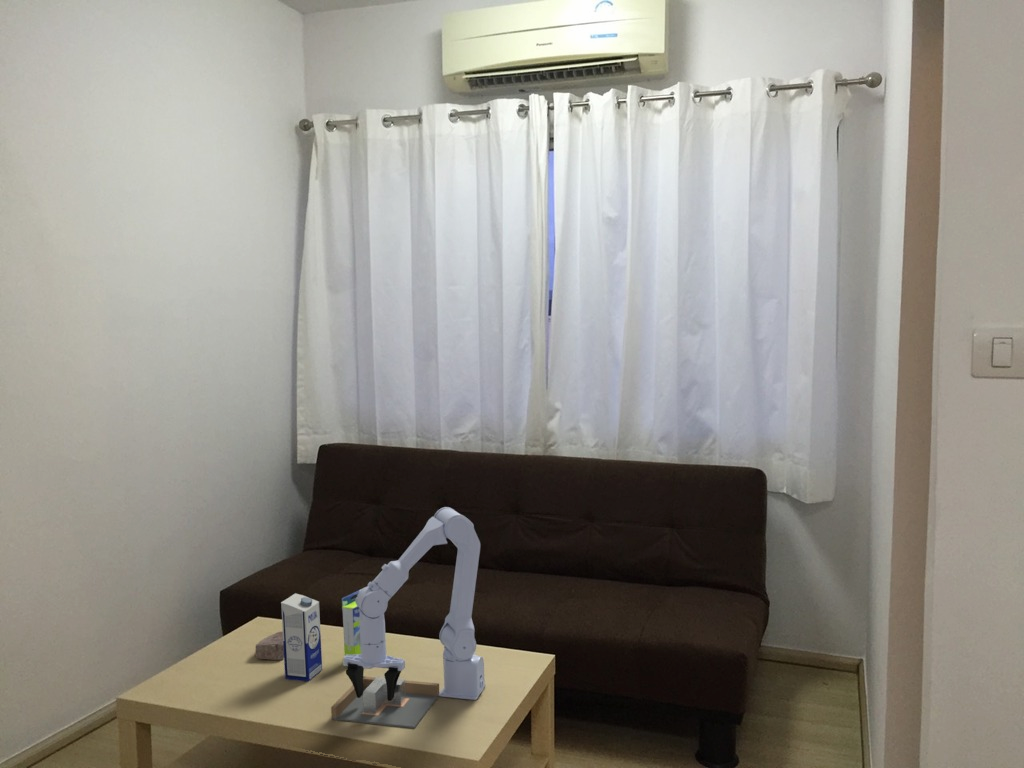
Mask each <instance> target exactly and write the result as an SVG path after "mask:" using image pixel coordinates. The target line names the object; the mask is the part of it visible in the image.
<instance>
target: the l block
mask: <svg viewBox="0 0 1024 768" xmlns="http://www.w3.org/2000/svg"><path fill="white" fill-rule="evenodd" d="M375 678H376V679H375V680H374V681H373V682H372V683H371V684H370V685H369V686H368V687H367V688H366V689H365V690H364V691H363V704H364V713H367V714H377V713H378V712H379V710H380V709H381V708H382V707H383V706H384V705H385V704H389V705H399V706H401V705H402V704H403V703H404V702H405V700H406V687H405V680H406V679H405V678H398V681H397V684H396V688H395V693H394V698H393V699H392V700H391V701H388V699H387V685H386V680H385V676H376V677H375Z"/></svg>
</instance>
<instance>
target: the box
mask: <svg viewBox="0 0 1024 768" xmlns="http://www.w3.org/2000/svg"><path fill="white" fill-rule="evenodd" d="M366 587H367V586H365V588H366ZM360 590H361V589H359V590H356V591H355V592H352V593H351V594H348V595H346V596H344V597H342V598H341V610H342V624H343V625H342V626H343V645H344V648H343V649H344V657H345V656H346V655H357V654H361V645H360V624H359V622H360V612H359V610H361V609H360V608H359V607H358V606H357V604H356V601H355V599H357V597H358V596H357V595H358V593H359V592H360ZM355 595H356V597H354V596H355ZM352 597H354V598H352Z"/></svg>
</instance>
